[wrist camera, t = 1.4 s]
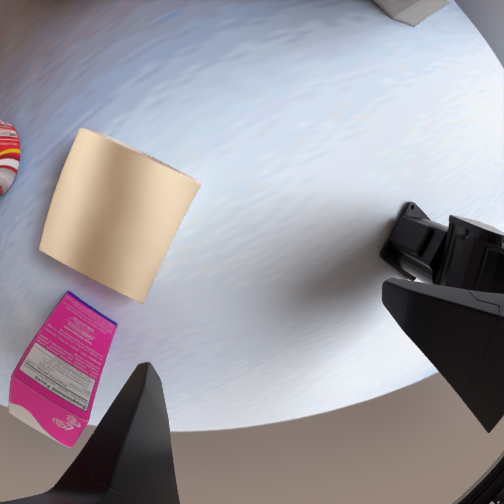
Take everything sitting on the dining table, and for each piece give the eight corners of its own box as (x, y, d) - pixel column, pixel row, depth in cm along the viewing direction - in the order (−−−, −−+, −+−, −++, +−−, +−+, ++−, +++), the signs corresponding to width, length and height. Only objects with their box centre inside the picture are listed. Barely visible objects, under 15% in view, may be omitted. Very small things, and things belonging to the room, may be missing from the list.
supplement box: (99, 360, 23) (70, 451, 12) (51, 328, 21) (3, 409, 10) (121, 323, 22) (89, 424, 11) (68, 287, 20) (6, 371, 9)
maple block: (200, 181, 20) (200, 185, 16) (151, 280, 22) (143, 304, 18) (100, 132, 17) (80, 127, 13) (61, 234, 19) (38, 249, 15)
